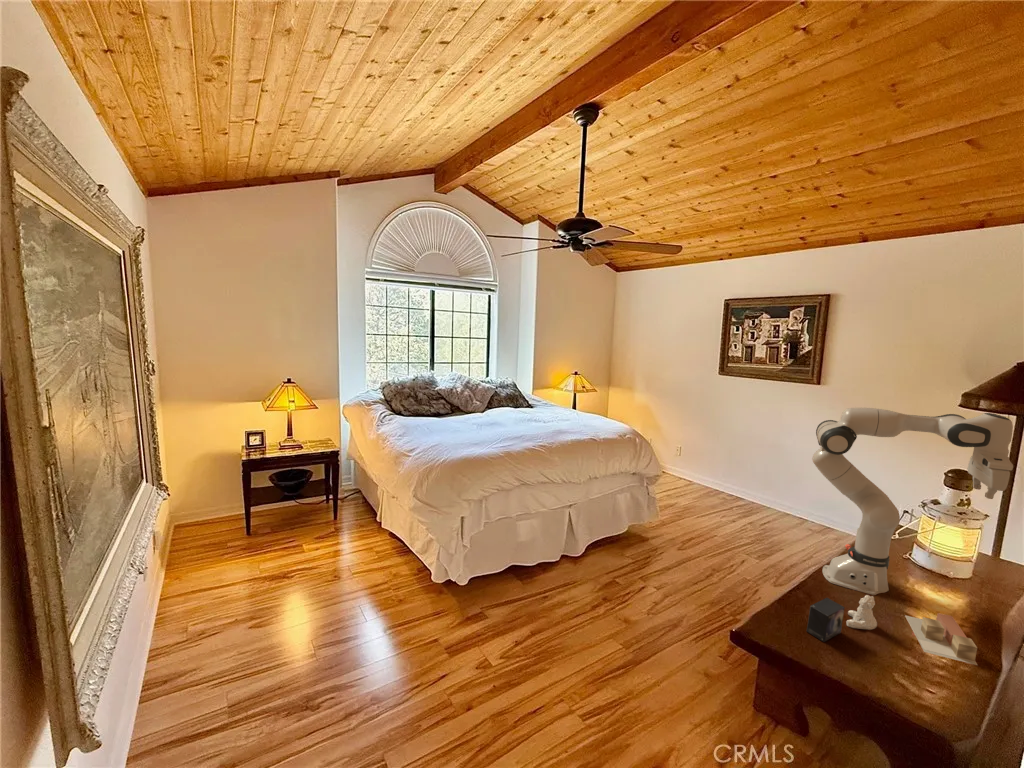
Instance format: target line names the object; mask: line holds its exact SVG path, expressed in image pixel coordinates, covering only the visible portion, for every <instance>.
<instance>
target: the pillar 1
mask: <svg viewBox="0 0 1024 768" xmlns="http://www.w3.org/2000/svg"><path fill="white" fill-rule="evenodd" d="M921 619H922V625H921V631H922V633H923V634H924V636H925V638H929V639H933V640H937V641H941V642H942V640H943V634H944V627H943V626H942V624H941V622H940V621H938V620H937V619H934V618H929V617H924V616H922V618H921Z"/></svg>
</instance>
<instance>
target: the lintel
mask: <svg viewBox="0 0 1024 768" xmlns="http://www.w3.org/2000/svg"><path fill="white" fill-rule="evenodd" d="M936 620H938V621H940V622H941V624H942V626H943V627H944V634H943V635H944V636H945V638H946V640H947V641H948V643H949V644H950V645H952V639H953V635H957V636H961V637H966V638H968V637H967V636H966V634H965V633H964V631H963V630H962V628H961V627H960V625H959V624H958V622H957V620H955V618H954V617H953V615H948V614H945V613H944V614H943V613H940V612H937V615H936Z"/></svg>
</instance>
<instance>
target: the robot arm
mask: <svg viewBox="0 0 1024 768" xmlns="http://www.w3.org/2000/svg"><path fill="white" fill-rule="evenodd" d="M1013 425H1014V424H1013V421H1012V420H1011V419H1010V418H1008V417H1006V416H1004V415H1000V414H996V413H992V412H984V413H982V414H981V415H978V416H974V417H972V418H965V417H964V416H962V415H959V414H956V413H955V414H954V413H949V414H948V413H947V414H943V415H936V416H929V415H928V416H927V415H914V414H905V413H902V412H897V411H893V410H888V409H883V408H876V407H875V408H873V407H849V408H846V409H845V410H843V412H842V413H841V415H840V418H839V421H837V420H832V419H828V420H824V421H822V422H820V423H819V424H818V425H817V428H815V429H816V430H815V434H816V440H817V443H818V445H819V446H820V447H819V448H818V450H815V452H814V454H812V458H811V460H812V464H814V466H815V467H816V469H817V470H818V471H819V472H820V473H821V474H822V475H823V477H824V478H825V479H826V480H827V481H828V482H829V483H830V484H831V485H833V486H834V488H836V489H837V490H838V491H839V492H840V493H841V494H842V495H843V496H845V497H847V499H849V500H850V501H851V502H853V503H854V505H856V506H857V507H858V508H859V509H860V511H861V514H862V517H861V521H860V524H859V527H858V528H857V529H856V535H855V542H854V546H852V545H851V544H849V543H847V544H845V546H844V547H845V549H846V550H847V553H845V554H842V555H838V556H836V557H833V558H832V559H831V561H830V562H829V564H825V565H823V566H822V570H821V571H822V574H823V577H824V578H825V579H826V581H828V582H829V583H831V584H834V585H836V586H840V587H843V588H846V589H850V590H854V591H858V592H861V593H865V594H867V595H871V596H877V595H878V594H881V593H883V594H884V593H887V592H889V590H890V589H889V588H890V587H889V583H888V568H889V566H890V556H889V555H890V554H889V553H890V546H891V541H892V537H893V534H894V532H895V530H896V528H897V527H898V526H899V525H900V522H901V517H900V512H899V509H898V508H897V506H896V505H895V504H894V502H893V501H892V499H890V497H889V496H888V495H887V493H885V492H884V491H883V490H882V489H881V488H879V486H877V485H876V484H875V483H873V482H872V481H871V480H870V479H869V478H868V477H867V476H866V475H865V474H863V473H862V472H861V470H859V469H858V468H857V467H856V466H855V465H854V464H853V463H852V462H851V461H849V460H848V459H847V458H846V457H845V456H844V454H846V453H848V452H849V451H850V450H851V448H852V447H853V445H854V443H855V442H856V440H857V438H858V435H860V436H870V437H877V438H894V437H897V436H899V435H900V434H901V433H903V432H906V431H907V432H908V431H911V432H921V433H931V434H935V435H937V436H939V437H942V438H943V439H945V440H946V441H947V442H949V443H950V444H952V445H954V446H956V447H960V448H973V451H972V455H971V457H970V458H969V461H968V465H967V473H968V474H969V475H971V476H972V483H973V484H972V487H973V489H975V490H980V491H981V489H982V485H981V483H982V484H983V485H985V486H986V487H987V491H986V492H985V493H984V497H985V498H986V499H988V500H989V499H990V500H993V499H994V497H995V494H996V493H997V492H998V491H1000V492H1004V491H1005V490H1007V488H1008V484H1009V481H1010V477H1011V471H1013V469H1014V464H1013V463H1012V461H1011V460H1010V458H1009V454H1010V450H1009V446H1010V444H1011V442H1012V438H1013V428H1014V427H1013Z"/></svg>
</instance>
